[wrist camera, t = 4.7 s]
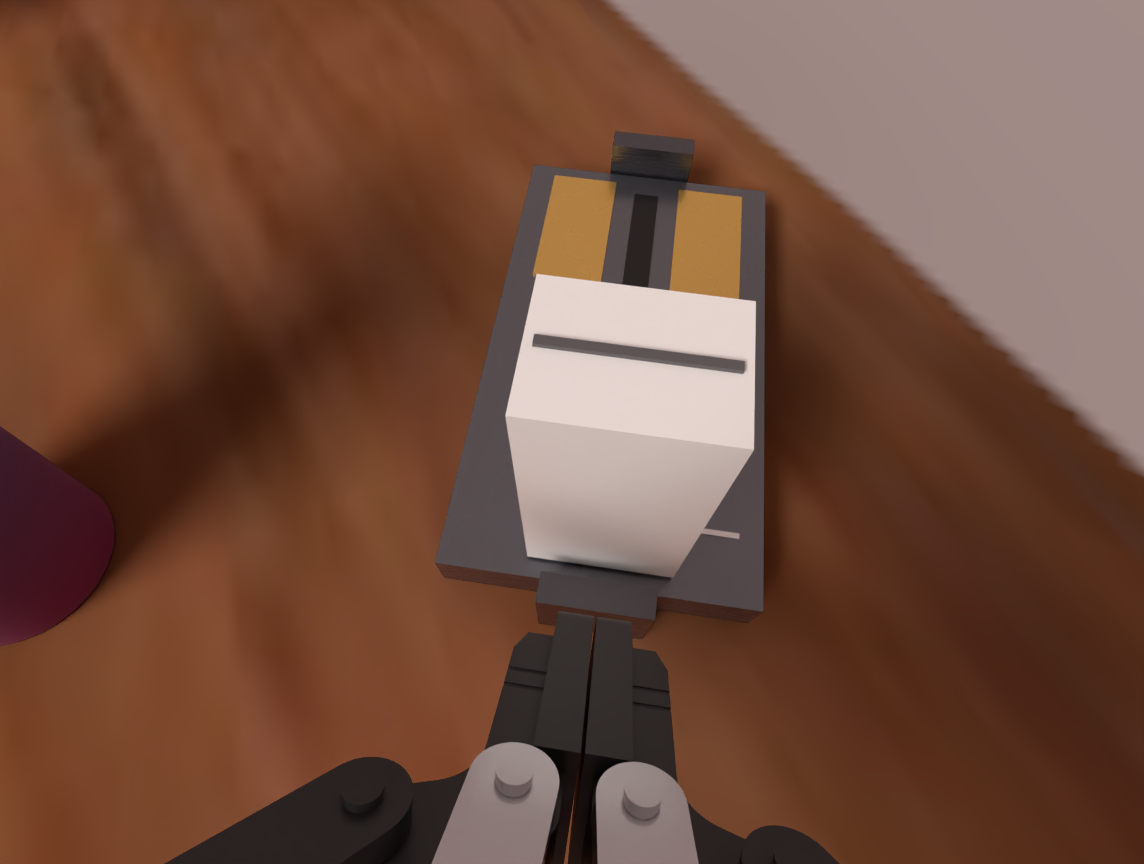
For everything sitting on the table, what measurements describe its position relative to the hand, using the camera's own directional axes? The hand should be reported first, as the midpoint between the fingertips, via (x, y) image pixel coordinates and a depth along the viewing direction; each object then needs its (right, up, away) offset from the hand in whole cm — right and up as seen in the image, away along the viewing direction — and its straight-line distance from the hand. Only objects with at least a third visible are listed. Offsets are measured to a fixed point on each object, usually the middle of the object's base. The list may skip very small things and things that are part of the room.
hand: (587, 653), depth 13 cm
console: (+1, +7, +9) cm, 12 cm away
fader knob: (+1, +2, +5) cm, 6 cm away
